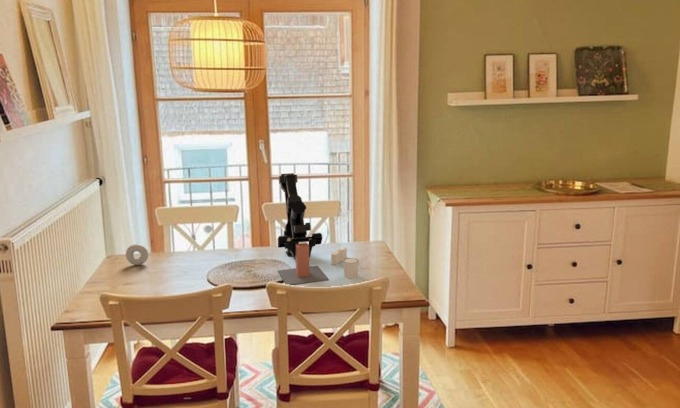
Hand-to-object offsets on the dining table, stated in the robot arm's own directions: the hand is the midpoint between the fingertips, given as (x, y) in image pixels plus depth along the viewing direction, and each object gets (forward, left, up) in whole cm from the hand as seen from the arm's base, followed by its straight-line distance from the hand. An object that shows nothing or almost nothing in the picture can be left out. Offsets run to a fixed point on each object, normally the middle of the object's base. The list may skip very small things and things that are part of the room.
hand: (302, 258), depth 245 cm
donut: (-41, -67, -9) cm, 79 cm away
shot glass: (+7, +19, -9) cm, 22 cm away
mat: (-1, 0, -8) cm, 8 cm away
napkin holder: (-14, +21, -9) cm, 27 cm away
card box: (-1, 0, -8) cm, 8 cm away
